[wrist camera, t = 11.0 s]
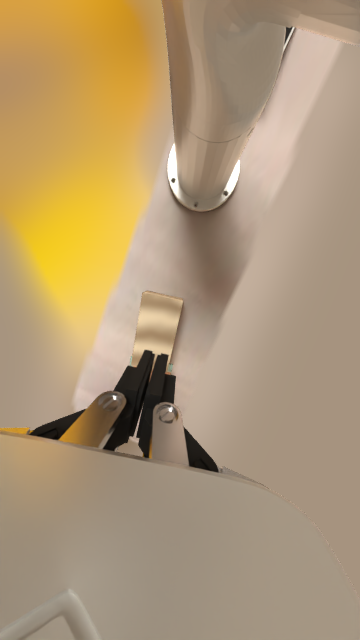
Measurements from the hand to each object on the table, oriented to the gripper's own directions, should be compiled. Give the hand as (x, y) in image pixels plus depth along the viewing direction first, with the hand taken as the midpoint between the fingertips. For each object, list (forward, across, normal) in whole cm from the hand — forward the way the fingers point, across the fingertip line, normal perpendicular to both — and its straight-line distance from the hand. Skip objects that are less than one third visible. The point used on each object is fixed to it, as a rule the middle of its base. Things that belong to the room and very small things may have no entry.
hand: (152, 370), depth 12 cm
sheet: (+27, +2, +8) cm, 28 cm away
